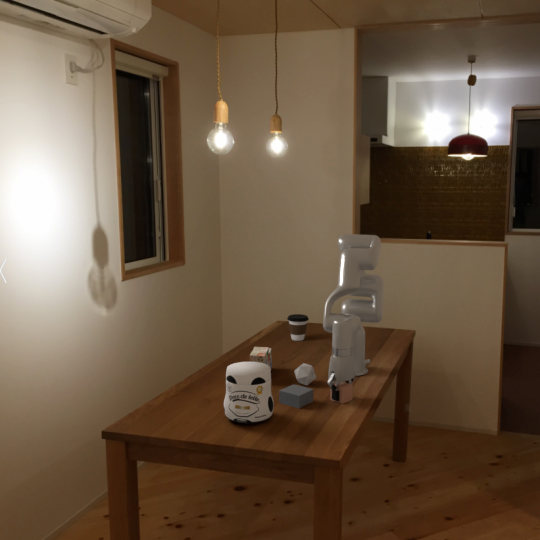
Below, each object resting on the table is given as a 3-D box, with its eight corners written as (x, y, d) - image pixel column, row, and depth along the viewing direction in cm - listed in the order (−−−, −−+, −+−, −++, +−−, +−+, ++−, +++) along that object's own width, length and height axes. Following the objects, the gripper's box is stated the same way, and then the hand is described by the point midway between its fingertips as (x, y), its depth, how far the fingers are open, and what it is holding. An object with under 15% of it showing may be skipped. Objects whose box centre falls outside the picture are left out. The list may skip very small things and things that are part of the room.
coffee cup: (288, 336, 329) (288, 313, 328) (309, 336, 328) (309, 314, 326) (285, 341, 319) (286, 318, 317) (307, 342, 317) (307, 319, 315)
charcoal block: (293, 396, 241) (293, 384, 240) (313, 402, 235) (313, 389, 235) (279, 403, 234) (279, 390, 233) (299, 409, 228) (299, 395, 228)
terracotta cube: (340, 395, 241) (340, 380, 241) (352, 399, 237) (352, 384, 236) (329, 399, 237) (330, 384, 236) (342, 403, 233) (342, 388, 232)
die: (295, 388, 251) (310, 371, 248) (286, 373, 257) (300, 356, 254) (309, 391, 256) (324, 375, 253) (300, 376, 262) (314, 360, 259)
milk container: (234, 431, 208) (233, 378, 205) (216, 413, 224) (216, 364, 221) (281, 423, 215) (281, 372, 212) (262, 406, 231) (262, 358, 228)
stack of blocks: (257, 368, 276) (257, 340, 274) (271, 368, 275) (272, 341, 273) (249, 384, 255) (249, 354, 253) (264, 385, 254) (264, 355, 252)
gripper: (348, 345, 243) (347, 390, 246) (319, 353, 231) (318, 401, 234) (364, 349, 238) (363, 394, 240) (335, 358, 226) (334, 406, 229)
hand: (341, 397), depth 237 cm, fingers closed on terracotta cube, 6 cm apart
